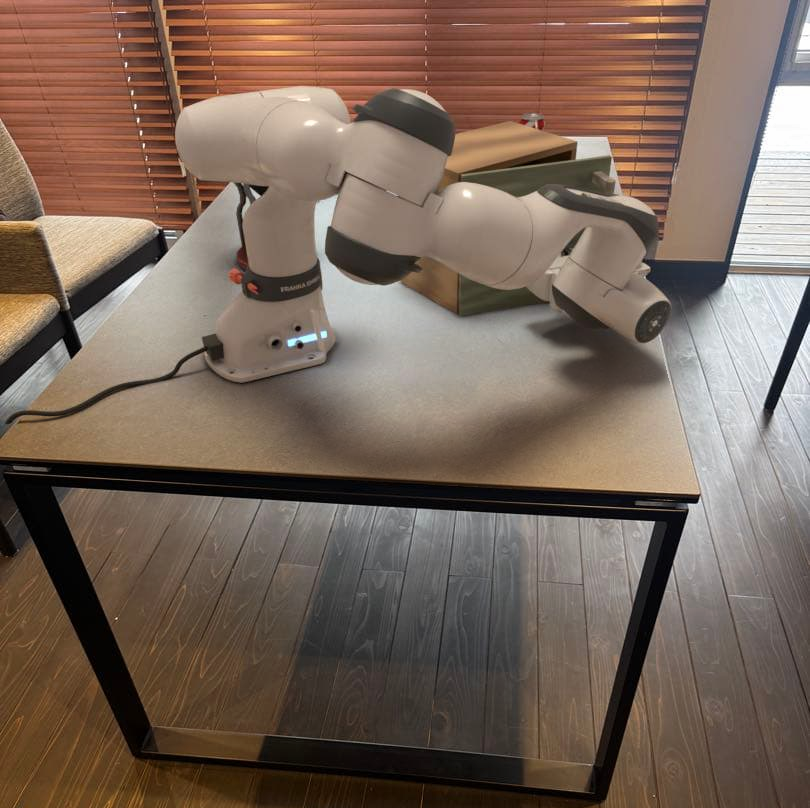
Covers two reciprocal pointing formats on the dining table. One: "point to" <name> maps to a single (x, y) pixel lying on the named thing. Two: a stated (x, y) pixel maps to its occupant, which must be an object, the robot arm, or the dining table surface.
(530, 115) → the soda can
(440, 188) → the cupboard
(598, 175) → the door
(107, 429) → the dining table surface
